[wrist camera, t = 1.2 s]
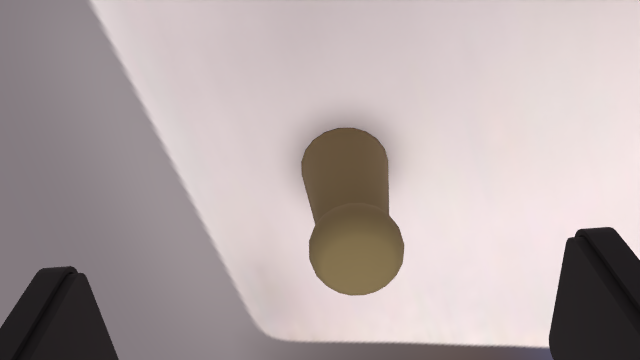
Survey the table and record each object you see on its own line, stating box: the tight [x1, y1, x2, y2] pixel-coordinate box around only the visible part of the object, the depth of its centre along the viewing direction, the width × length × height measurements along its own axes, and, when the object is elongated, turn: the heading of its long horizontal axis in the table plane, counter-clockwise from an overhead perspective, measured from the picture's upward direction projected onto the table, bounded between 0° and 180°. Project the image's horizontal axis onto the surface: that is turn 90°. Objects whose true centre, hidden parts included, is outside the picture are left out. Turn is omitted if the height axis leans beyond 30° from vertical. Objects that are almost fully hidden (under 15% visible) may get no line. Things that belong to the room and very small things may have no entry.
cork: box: [302, 128, 404, 295], centre depth 33 cm, size 6×6×11 cm
